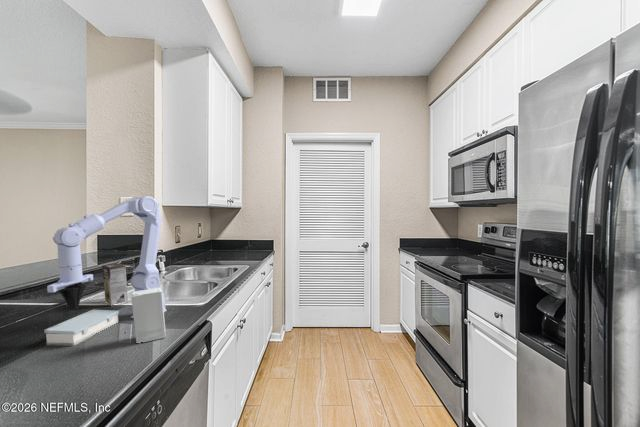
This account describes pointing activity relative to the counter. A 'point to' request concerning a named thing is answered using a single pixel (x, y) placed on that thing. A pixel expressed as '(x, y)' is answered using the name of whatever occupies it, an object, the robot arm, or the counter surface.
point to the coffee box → (115, 283)
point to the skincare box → (148, 315)
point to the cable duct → (80, 333)
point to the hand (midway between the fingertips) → (73, 308)
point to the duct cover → (81, 322)
